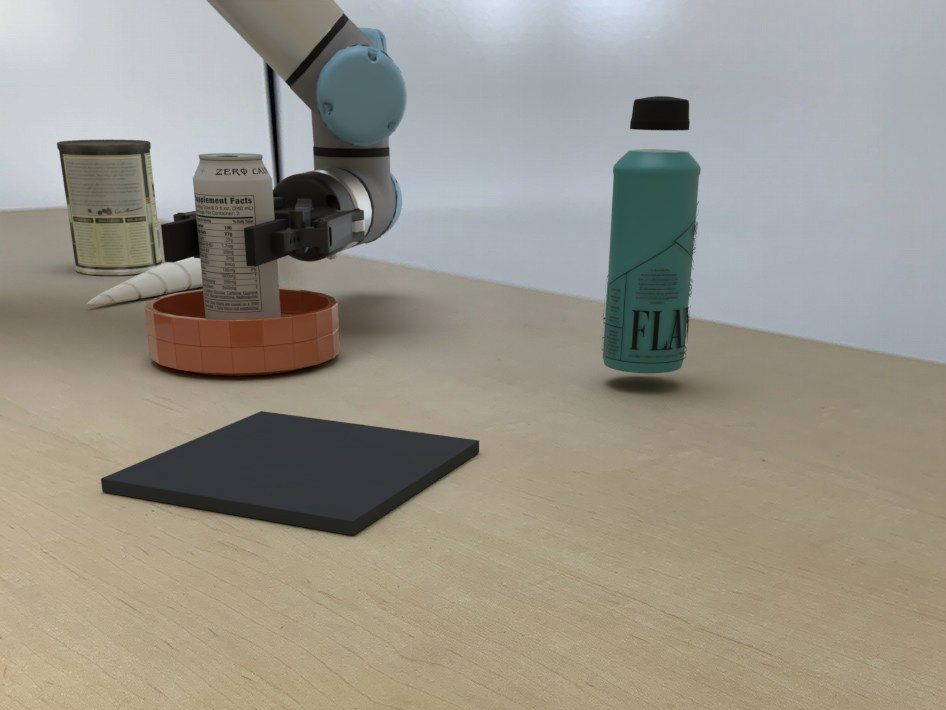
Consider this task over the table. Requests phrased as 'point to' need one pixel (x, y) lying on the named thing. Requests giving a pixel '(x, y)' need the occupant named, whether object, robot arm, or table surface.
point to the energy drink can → (234, 235)
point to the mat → (296, 471)
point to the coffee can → (111, 206)
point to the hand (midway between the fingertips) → (208, 245)
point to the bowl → (243, 335)
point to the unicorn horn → (155, 282)
